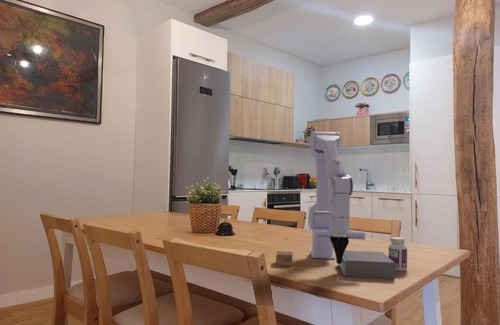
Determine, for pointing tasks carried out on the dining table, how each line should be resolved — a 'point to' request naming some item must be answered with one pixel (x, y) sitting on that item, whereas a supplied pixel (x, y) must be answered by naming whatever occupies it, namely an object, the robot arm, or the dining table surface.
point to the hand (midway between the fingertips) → (338, 263)
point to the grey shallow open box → (343, 266)
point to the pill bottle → (398, 253)
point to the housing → (369, 265)
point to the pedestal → (283, 258)
